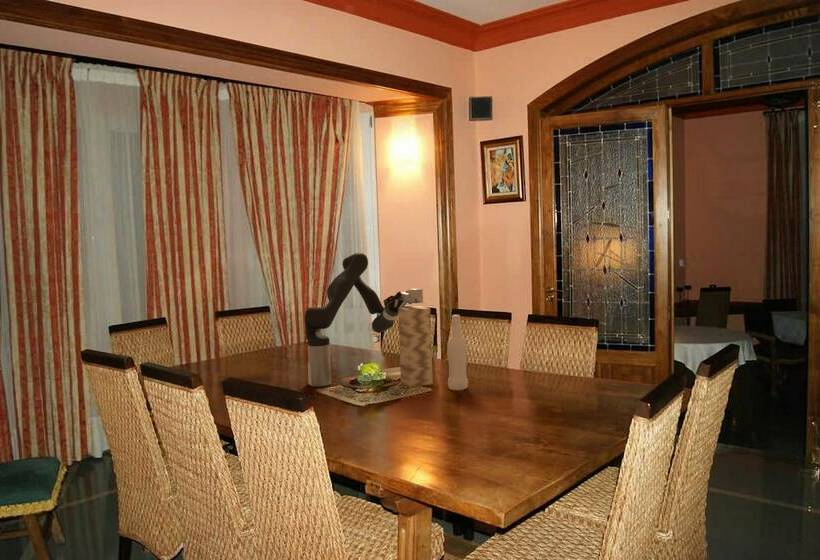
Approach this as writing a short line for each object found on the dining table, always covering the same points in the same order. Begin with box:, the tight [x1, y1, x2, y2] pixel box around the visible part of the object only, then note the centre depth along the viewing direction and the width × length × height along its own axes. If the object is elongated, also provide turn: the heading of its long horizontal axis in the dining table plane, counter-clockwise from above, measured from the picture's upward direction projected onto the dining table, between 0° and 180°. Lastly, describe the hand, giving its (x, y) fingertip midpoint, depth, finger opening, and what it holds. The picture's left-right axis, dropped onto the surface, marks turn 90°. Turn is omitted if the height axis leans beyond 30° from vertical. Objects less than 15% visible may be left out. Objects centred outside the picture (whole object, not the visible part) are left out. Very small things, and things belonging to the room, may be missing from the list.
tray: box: [380, 366, 401, 378], centre depth 287 cm, size 14×14×2 cm
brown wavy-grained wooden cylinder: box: [398, 305, 433, 387], centre depth 272 cm, size 10×11×32 cm
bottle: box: [446, 314, 469, 391], centre depth 260 cm, size 8×8×30 cm
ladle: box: [396, 288, 424, 304], centre depth 276 cm, size 6×21×6 cm, turn 22°
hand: (404, 293), depth 281 cm, fingers closed on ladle, 3 cm apart
